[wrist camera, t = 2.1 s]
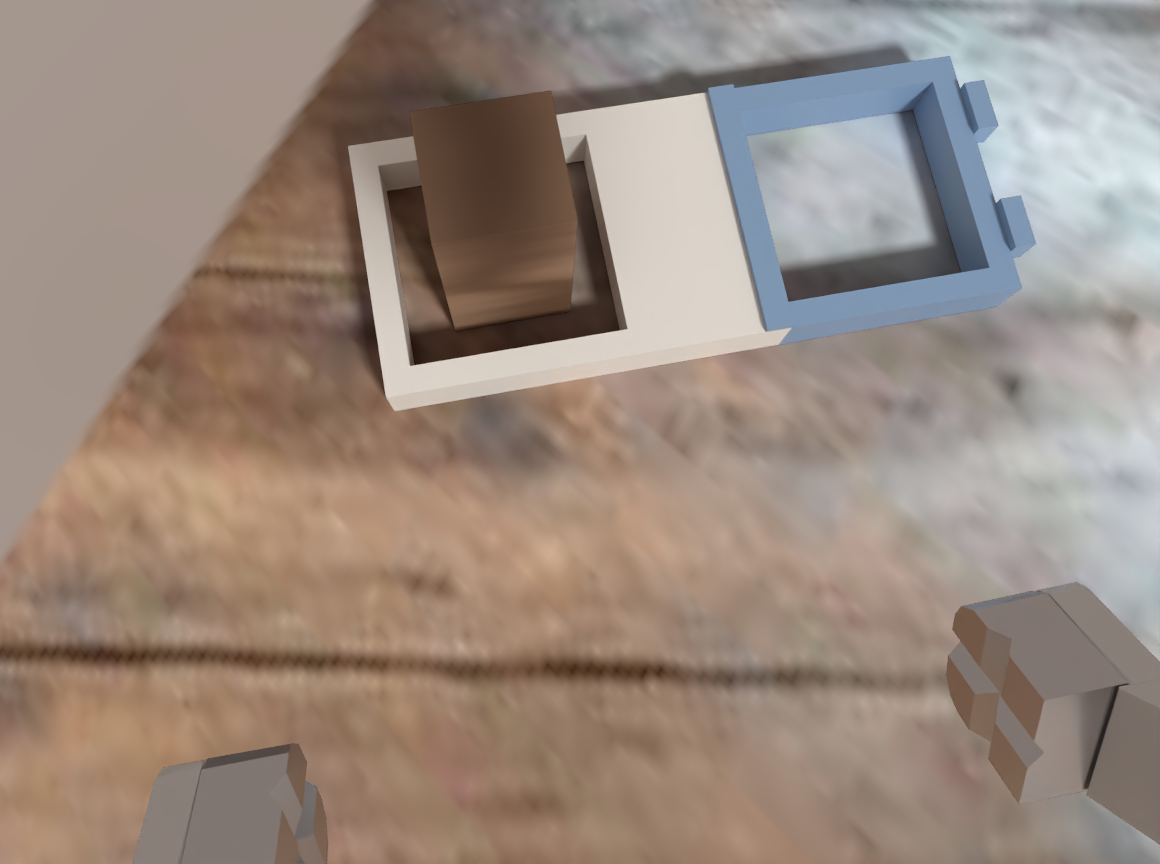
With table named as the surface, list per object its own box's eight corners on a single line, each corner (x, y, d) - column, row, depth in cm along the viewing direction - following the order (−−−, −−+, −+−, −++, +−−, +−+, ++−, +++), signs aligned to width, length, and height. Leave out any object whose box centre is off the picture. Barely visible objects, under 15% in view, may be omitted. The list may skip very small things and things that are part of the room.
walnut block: (549, 207, 37) (551, 90, 29) (570, 311, 36) (577, 220, 28) (437, 224, 36) (408, 111, 29) (455, 331, 36) (431, 243, 28)
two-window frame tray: (947, 82, 39) (973, 46, 36) (1015, 303, 37) (1048, 280, 34) (358, 172, 37) (345, 140, 34) (394, 411, 35) (384, 394, 32)
